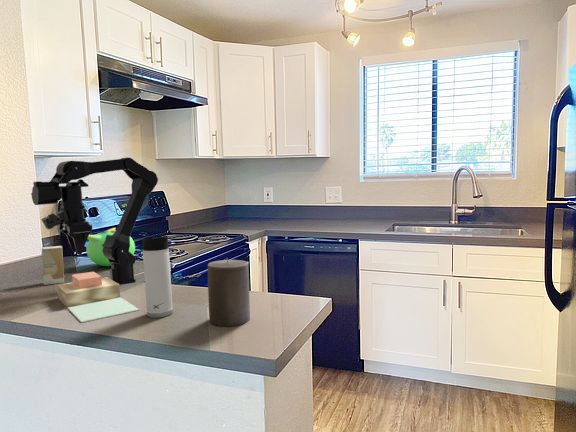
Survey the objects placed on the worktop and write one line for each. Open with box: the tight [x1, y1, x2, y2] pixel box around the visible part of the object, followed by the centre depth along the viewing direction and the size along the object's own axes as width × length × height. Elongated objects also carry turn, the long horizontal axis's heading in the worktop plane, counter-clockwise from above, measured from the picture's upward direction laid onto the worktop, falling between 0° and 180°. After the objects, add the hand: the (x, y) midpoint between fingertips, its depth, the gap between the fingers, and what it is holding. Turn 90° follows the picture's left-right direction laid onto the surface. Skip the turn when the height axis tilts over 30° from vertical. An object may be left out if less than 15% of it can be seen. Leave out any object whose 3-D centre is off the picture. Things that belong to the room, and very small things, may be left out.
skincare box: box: [41, 245, 65, 286], centre depth 150 cm, size 6×4×12 cm
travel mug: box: [141, 235, 174, 319], centre depth 111 cm, size 6×7×20 cm
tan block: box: [56, 276, 121, 309], centre depth 129 cm, size 14×13×4 cm
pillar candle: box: [207, 257, 251, 328], centre depth 105 cm, size 10×10×15 cm
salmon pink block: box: [71, 271, 103, 289], centre depth 130 cm, size 6×9×2 cm, turn 37°
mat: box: [67, 296, 140, 324], centre depth 118 cm, size 14×16×1 cm
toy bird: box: [85, 227, 136, 267], centre depth 175 cm, size 18×17×15 cm
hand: (76, 253), depth 137 cm, fingers open, 7 cm apart
